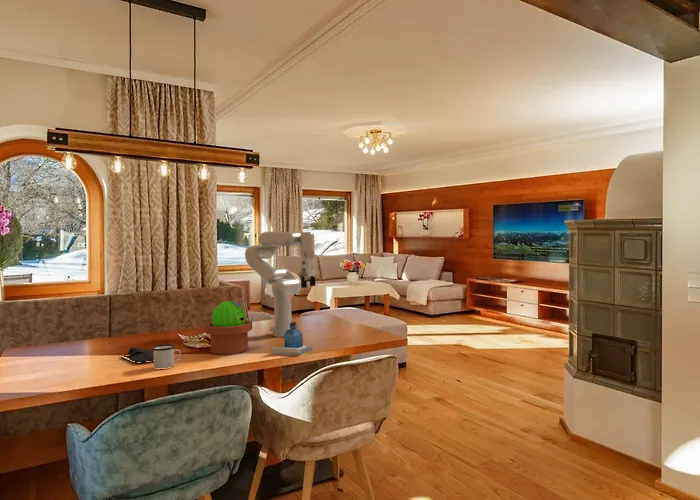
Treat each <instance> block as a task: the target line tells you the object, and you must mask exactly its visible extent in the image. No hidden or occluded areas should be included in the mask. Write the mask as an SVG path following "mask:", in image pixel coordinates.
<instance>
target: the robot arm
mask: <svg viewBox="0 0 700 500" xmlns="http://www.w3.org/2000/svg"><path fill="white" fill-rule="evenodd" d="M257 239H258V243H259V244H254V245H251V246H248V247H247V248H246V249H245V252H244V257H245V261H246V263H247V265H248V266H249V267H250V268H251V269H252V270H253V271H254V272H256V274H258V275H259V277H260V278H262V279H263V280H264V281H265V282H266V283H267V284H268V285H271V292H272V297H273V306H274V307H273V310H274V326H269V330H268V331H271V334H272V336H273V337H278V338H279V337H280V338H281V337H282V338H284V335H285V333H286V331H287V330H289V329H290V322H293V320H292V301H291V300H290V298H289V296H291V295H296V294H298V293H300V291H301V289H307V288H308V280H307V278H308V277H309V286H310V287H315V286H316V276H317V264H316V255H315V251H316V250H315V233H314V232H312V231H283V232H282V231H264V232H261V233H260V234H259V235H258V238H257ZM296 246H297V247H298V246H300V251H299V252H300V259H301V260H300V271H299V273H298V274H299V278H300V279H299V278H297V277H296V276H295V275H294V274H293V273H292V272H291V271H290V270H289V269H288V268H286V267H273V266H272V265H271V264H270V263H269V262H268V261H265V260H269V259H271V258H273V256H274V255H275V254H276V252H278V250H279V248H280V247H296Z"/></svg>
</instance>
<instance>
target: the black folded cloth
mask: <svg viewBox="0 0 700 500" xmlns="http://www.w3.org/2000/svg"><path fill="white" fill-rule="evenodd" d="M129 354H130V355H129ZM125 355H129V356H125ZM122 356H124V357H127V358H129V359H130V360H132V361H135V362H146V361H153V360H154V359H153V350H152V349H151V350H150V349H145V348H142V347H134V346H131V347H129V350H128V352H127V354H123V355H122Z"/></svg>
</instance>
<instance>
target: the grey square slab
mask: <svg viewBox="0 0 700 500" xmlns="http://www.w3.org/2000/svg"><path fill="white" fill-rule="evenodd" d="M271 350H272V352H271V353H272V354H273V355H283V356H295V357H299V356H302V355H304V354H306V353H307V352H310V351H311V350H313V346H312V345H304V344H303V347H301V348H286V347H285V345H283V346H272V349H271Z"/></svg>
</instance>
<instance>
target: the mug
mask: <svg viewBox="0 0 700 500" xmlns="http://www.w3.org/2000/svg"><path fill="white" fill-rule="evenodd" d="M175 348H176V345H175V344H171V343H167V344H165V343H164V344H159V345H154V346H152V347H151V351H153V359H154V362H153V368H154V367H155V368H168V367H172V366H174V367H175V362H177V361H180V360H181V355H182V352H181V350H180V349H175ZM177 351H178V352H179V353H178V354H179V358H177V359H175V352H177ZM172 368H173V367H172Z"/></svg>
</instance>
